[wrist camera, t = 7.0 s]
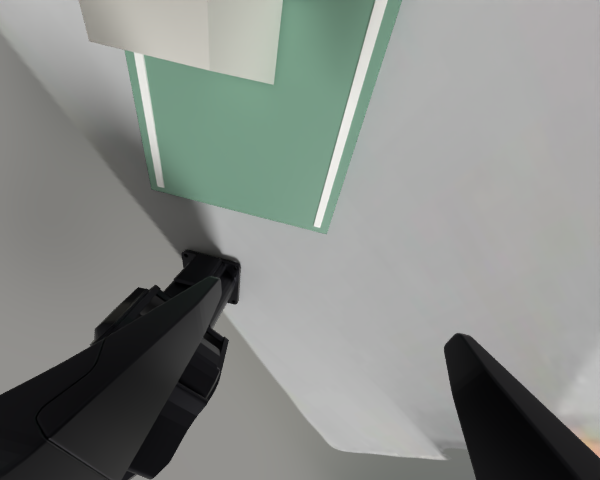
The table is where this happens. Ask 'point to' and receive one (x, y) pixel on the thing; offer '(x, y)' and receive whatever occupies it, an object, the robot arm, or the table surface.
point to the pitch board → (267, 116)
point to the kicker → (192, 32)
